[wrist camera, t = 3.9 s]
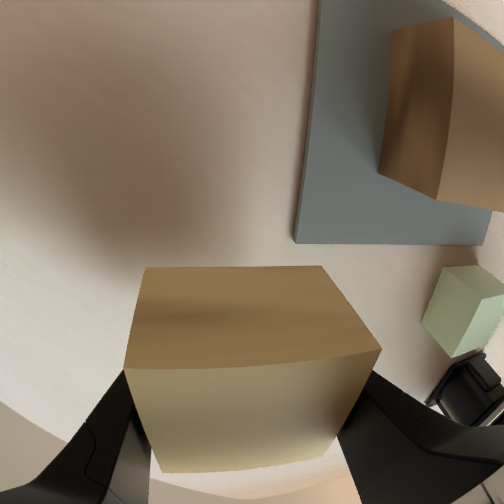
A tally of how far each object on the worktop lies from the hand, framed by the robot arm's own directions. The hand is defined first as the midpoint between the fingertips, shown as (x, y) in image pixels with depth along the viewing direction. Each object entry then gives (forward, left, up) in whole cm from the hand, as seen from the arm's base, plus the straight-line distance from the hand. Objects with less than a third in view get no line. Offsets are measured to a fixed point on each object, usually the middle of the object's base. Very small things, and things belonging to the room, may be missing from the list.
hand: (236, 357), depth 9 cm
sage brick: (-2, -16, -5) cm, 17 cm away
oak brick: (0, 0, -1) cm, 1 cm away
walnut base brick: (+9, -10, -5) cm, 14 cm away
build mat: (+9, -10, -5) cm, 14 cm away
